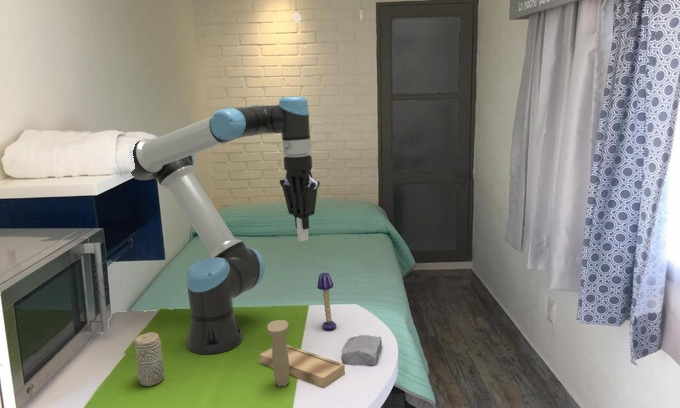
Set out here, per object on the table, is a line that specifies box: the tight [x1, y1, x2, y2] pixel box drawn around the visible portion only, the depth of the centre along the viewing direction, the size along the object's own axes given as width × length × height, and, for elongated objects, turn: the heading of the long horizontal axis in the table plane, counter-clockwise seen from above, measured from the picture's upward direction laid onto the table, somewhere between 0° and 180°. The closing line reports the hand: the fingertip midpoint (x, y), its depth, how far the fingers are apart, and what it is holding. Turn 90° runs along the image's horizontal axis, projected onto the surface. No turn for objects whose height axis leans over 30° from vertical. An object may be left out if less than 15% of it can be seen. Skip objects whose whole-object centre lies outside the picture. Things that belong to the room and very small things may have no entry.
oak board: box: [258, 344, 346, 388], centre depth 142 cm, size 22×8×3 cm, turn 51°
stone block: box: [341, 334, 383, 367], centre depth 147 cm, size 12×5×10 cm
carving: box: [134, 331, 165, 387], centre depth 138 cm, size 6×8×12 cm
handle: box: [266, 319, 290, 387], centre depth 133 cm, size 5×6×15 cm
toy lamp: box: [316, 272, 337, 332], centre depth 163 cm, size 5×5×17 cm
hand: (303, 240), depth 155 cm, fingers closed
